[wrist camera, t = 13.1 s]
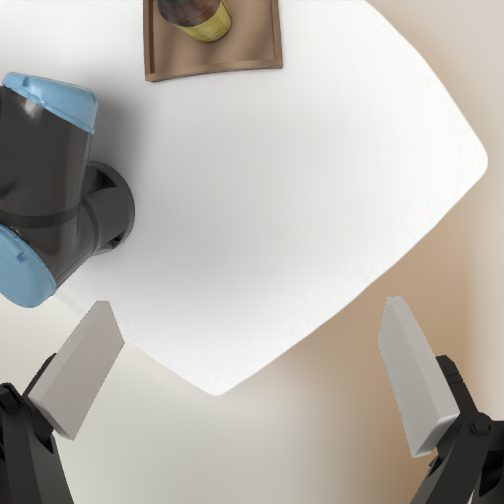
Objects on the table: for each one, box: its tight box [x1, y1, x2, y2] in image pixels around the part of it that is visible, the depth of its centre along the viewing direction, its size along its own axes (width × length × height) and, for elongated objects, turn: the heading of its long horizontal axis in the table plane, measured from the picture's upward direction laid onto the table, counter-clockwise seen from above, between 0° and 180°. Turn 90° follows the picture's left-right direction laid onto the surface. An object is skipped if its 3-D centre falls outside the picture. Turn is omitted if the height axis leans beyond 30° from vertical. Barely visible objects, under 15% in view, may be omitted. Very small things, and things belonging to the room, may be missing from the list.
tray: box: [143, 0, 283, 82], centre depth 32 cm, size 18×14×3 cm
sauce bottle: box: [157, 0, 232, 42], centre depth 23 cm, size 7×6×20 cm
